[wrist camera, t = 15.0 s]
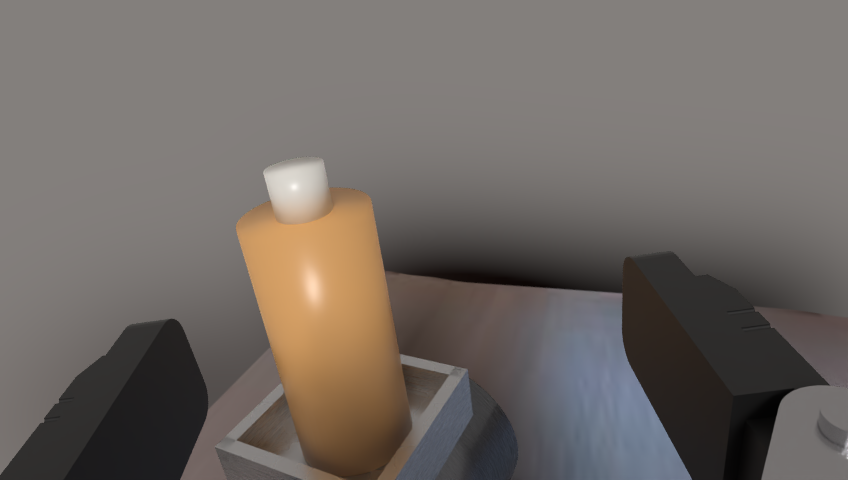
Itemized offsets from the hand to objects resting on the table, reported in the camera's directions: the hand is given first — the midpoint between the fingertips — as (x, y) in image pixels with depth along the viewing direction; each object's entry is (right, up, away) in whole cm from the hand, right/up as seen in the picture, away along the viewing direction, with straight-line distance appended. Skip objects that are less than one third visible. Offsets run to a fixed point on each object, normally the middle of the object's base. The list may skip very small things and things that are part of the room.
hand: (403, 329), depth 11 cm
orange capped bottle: (-3, -8, +19) cm, 20 cm away
